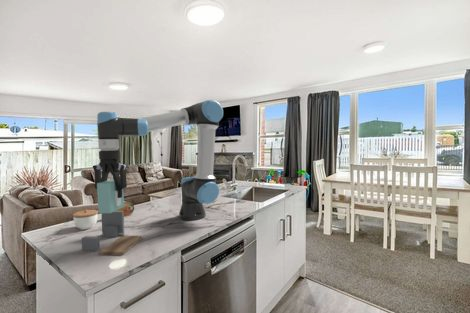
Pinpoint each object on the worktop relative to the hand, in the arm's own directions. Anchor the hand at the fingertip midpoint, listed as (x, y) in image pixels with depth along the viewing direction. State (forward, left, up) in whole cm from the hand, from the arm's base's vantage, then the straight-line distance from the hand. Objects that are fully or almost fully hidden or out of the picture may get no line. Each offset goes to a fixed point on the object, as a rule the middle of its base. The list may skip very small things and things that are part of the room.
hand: (111, 205), depth 100 cm
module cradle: (+6, -1, -16) cm, 18 cm away
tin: (+18, -37, -17) cm, 45 cm away
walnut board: (-5, +2, -16) cm, 17 cm away
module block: (0, 0, -2) cm, 2 cm away
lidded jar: (+26, -19, -17) cm, 37 cm away
